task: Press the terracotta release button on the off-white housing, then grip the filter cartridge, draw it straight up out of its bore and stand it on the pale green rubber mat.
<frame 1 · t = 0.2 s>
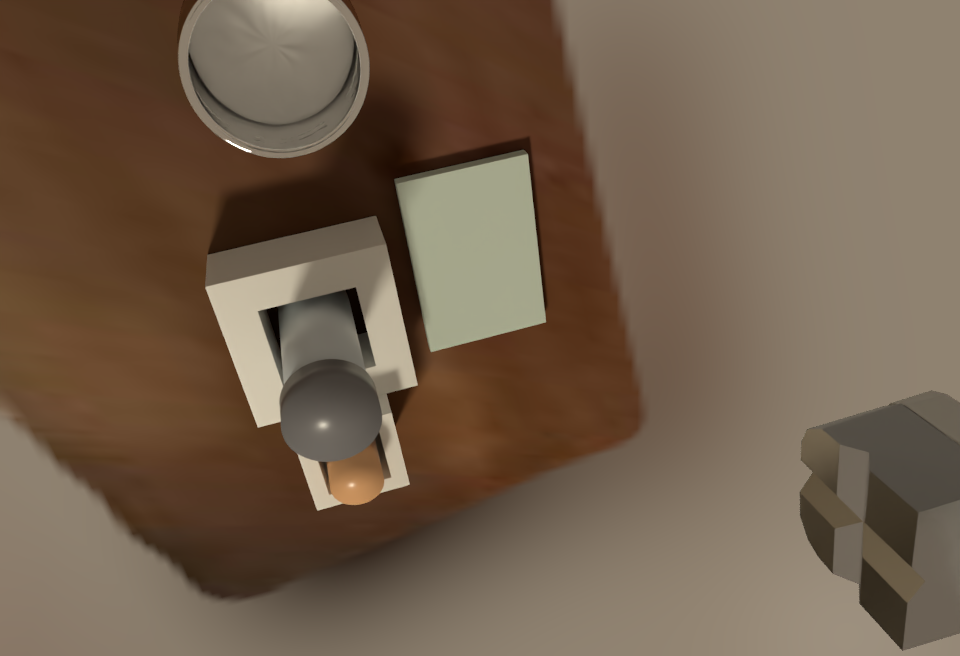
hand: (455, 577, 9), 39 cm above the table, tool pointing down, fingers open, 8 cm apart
housing: (313, 306, 50), on the table
mat: (473, 252, 51), on the table
cartridge: (313, 306, 50), resting in housing
release button: (353, 462, 50), point 6 cm above the table, slide at 0.0 cm
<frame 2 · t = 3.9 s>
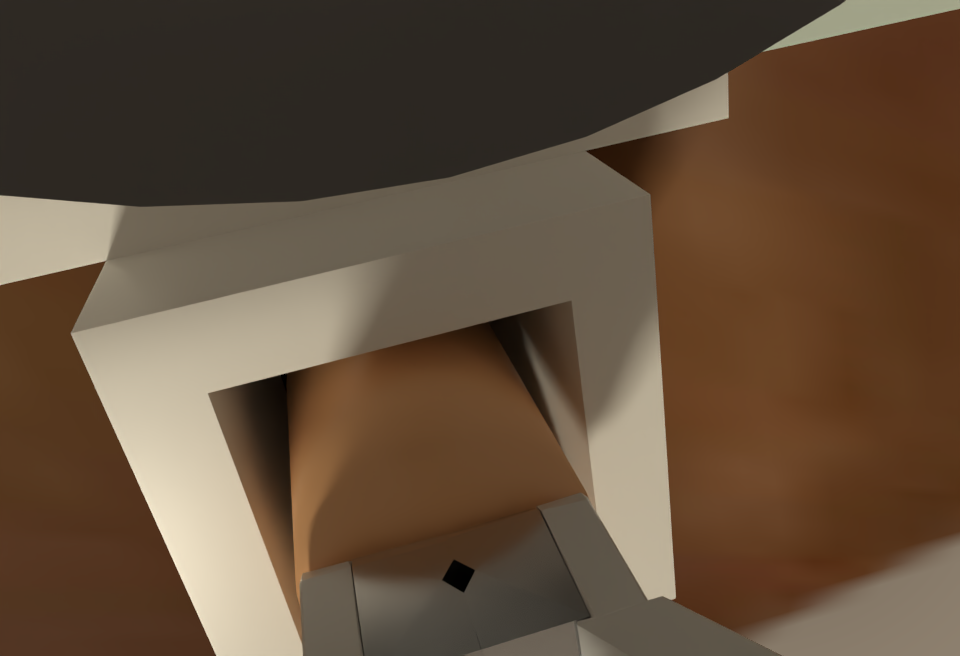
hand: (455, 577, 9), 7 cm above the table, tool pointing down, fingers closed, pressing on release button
release button: (419, 456, 10), point 5 cm above the table, slide at 0.7 cm, touching gripper
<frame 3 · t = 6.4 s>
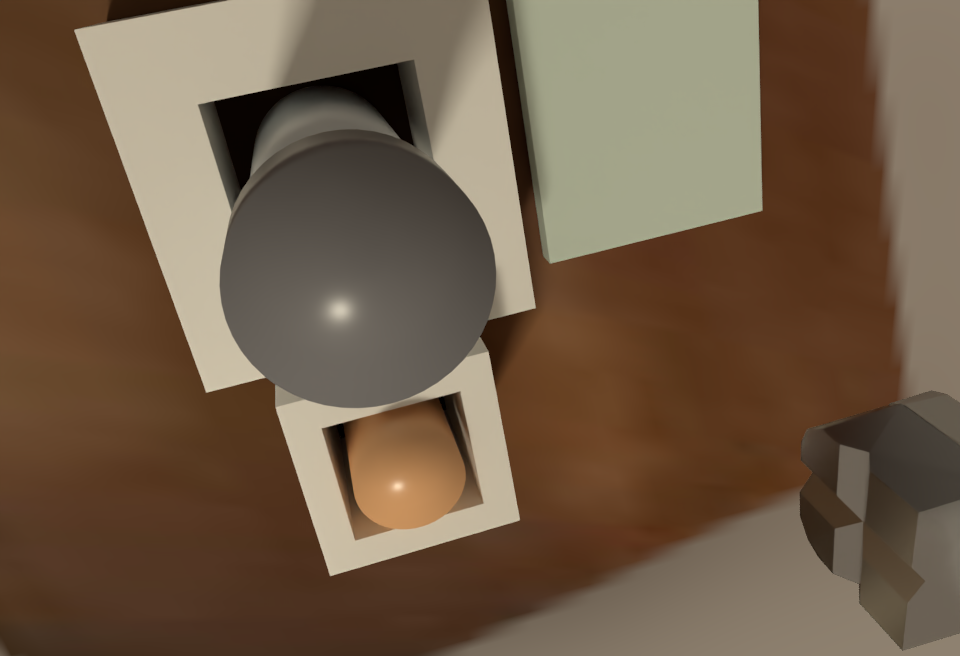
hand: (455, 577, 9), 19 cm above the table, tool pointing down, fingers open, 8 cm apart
housing: (326, 157, 25), on the table
mat: (634, 58, 26), on the table
cartridge: (326, 157, 25), resting in housing
release button: (400, 445, 25), point 5 cm above the table, slide at 1.2 cm
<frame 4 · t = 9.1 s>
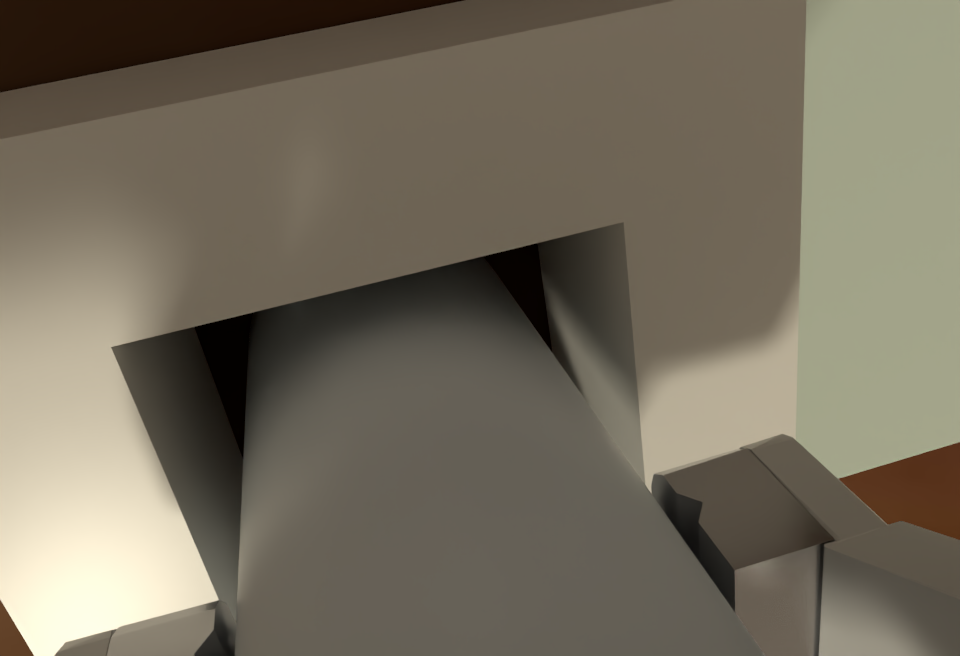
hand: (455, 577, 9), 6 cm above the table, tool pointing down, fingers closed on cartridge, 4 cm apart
housing: (385, 344, 13), on the table
mat: (948, 149, 14), on the table
cartridge: (385, 345, 13), resting in housing, touching gripper
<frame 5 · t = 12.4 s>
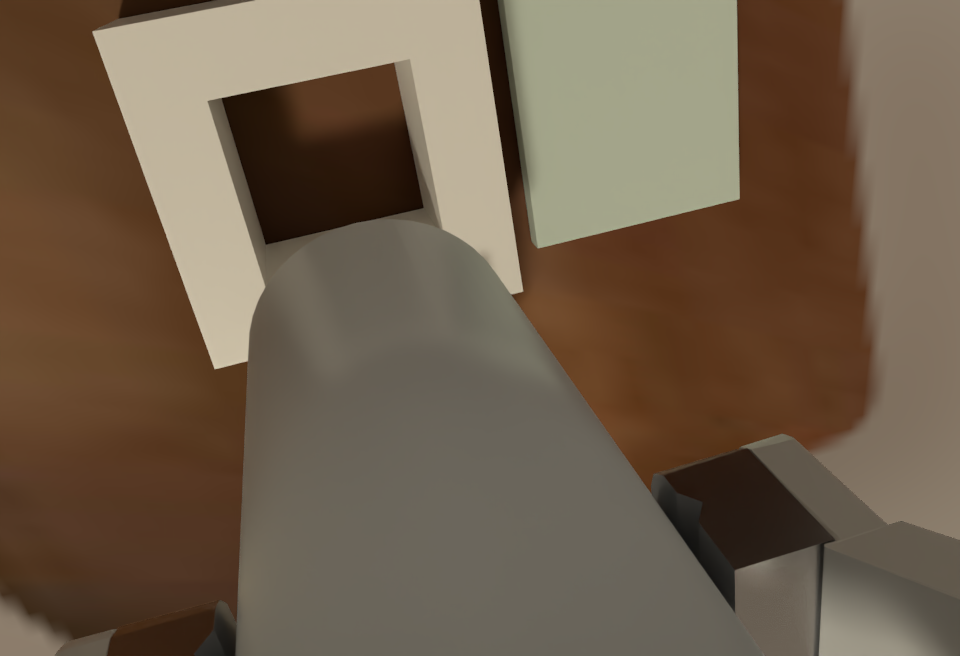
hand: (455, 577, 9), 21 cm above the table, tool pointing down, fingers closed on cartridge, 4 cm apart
housing: (326, 147, 27), on the table
mat: (619, 53, 28), on the table
cartridge: (385, 346, 13), point 15 cm above the table, touching gripper
when the fingers open (8 cm above the table, at t = 16.1 s): cartridge drops 2 cm, resting on mat.
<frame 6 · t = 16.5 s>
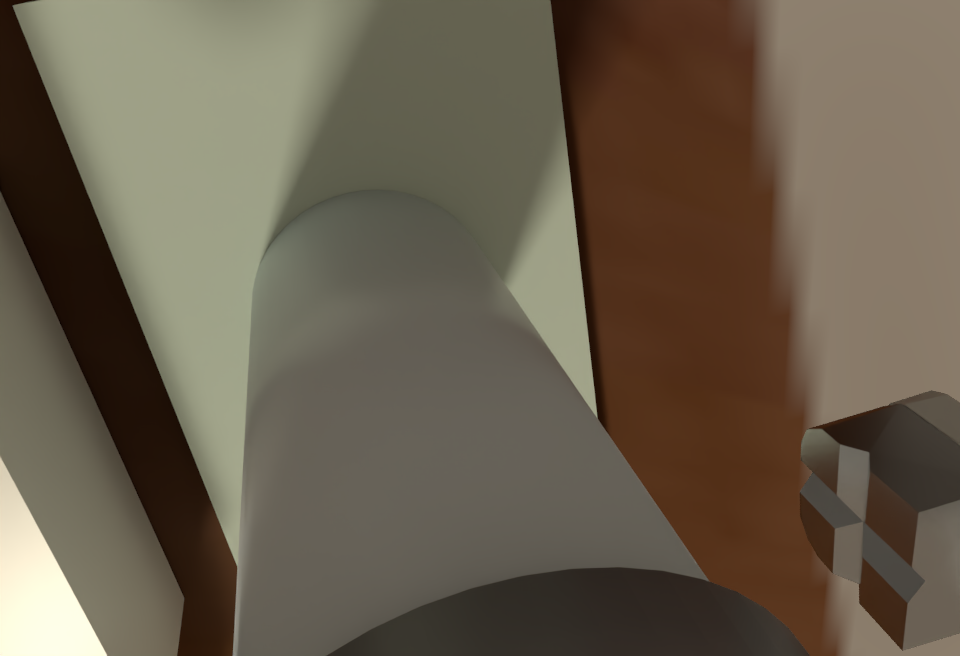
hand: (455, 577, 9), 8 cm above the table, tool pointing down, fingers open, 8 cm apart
mat: (370, 291, 16), on the table
cartridge: (375, 306, 15), point 1 cm above the table, touching mat
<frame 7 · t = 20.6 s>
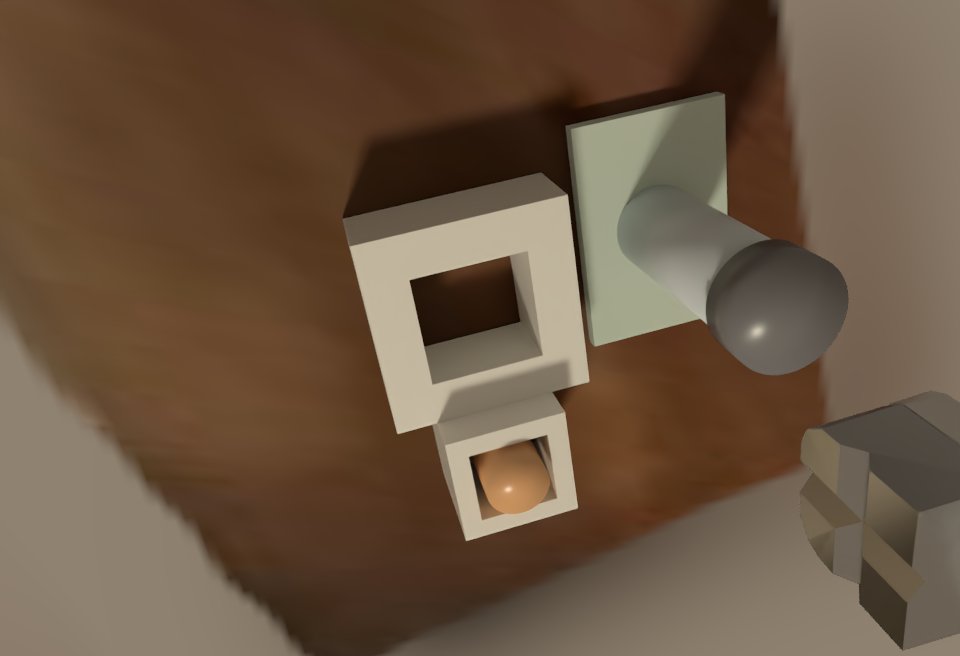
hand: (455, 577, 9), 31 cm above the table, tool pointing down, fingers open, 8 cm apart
housing: (460, 287, 42), on the table
mat: (649, 222, 42), on the table
cartridge: (656, 226, 42), point 1 cm above the table, touching mat
release button: (507, 463, 41), point 5 cm above the table, slide at 1.2 cm
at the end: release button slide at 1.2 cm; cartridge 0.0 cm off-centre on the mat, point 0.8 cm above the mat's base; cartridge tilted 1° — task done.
